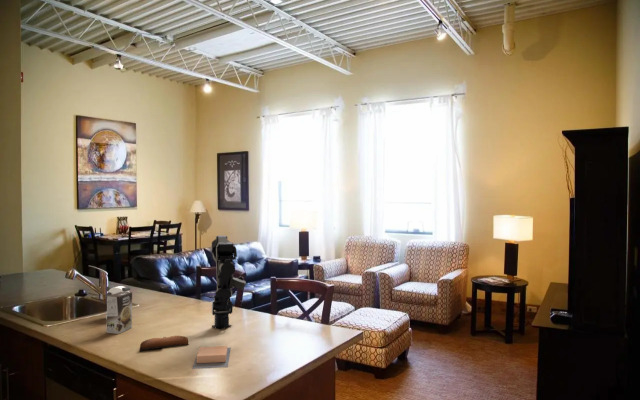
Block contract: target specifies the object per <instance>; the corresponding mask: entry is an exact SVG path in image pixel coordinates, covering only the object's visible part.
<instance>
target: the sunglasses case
mask: <svg viewBox="0 0 640 400" xmlns="http://www.w3.org/2000/svg"><path fill="white" fill-rule="evenodd" d="M187 345H189V339H188V336H184V335H172V336H163V337H152V338H149V339H145V340H143V341H141V343H140V345H139V352H143V351H148V350H155V349H159V348H160V349H161V348H169V347H179V346H187Z"/></svg>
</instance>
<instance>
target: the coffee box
mask: <svg viewBox="0 0 640 400" xmlns="http://www.w3.org/2000/svg"><path fill="white" fill-rule="evenodd" d="M106 317H107V319H106V333H107V334H115V335H118V334H121V333H124V332H126V331H127V330H131V329H132V327H133V292H131V291H129V292H119V293H115V294H112V295H109V296H107V300H106Z"/></svg>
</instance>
